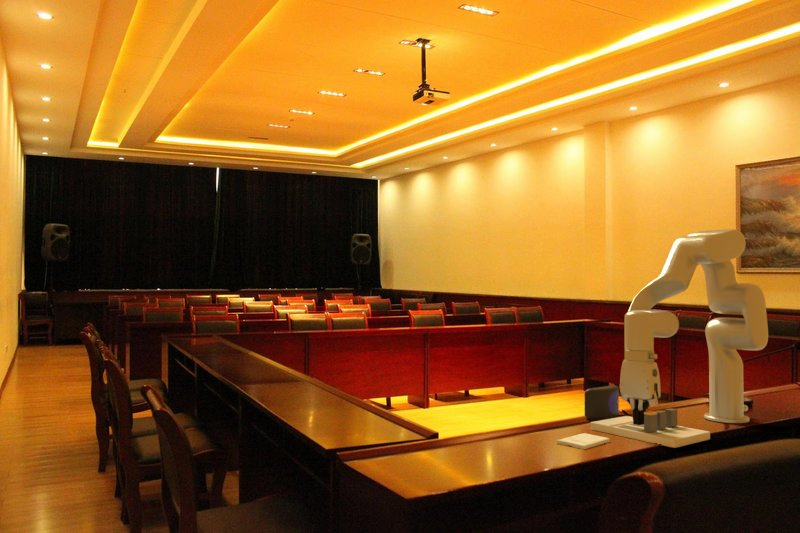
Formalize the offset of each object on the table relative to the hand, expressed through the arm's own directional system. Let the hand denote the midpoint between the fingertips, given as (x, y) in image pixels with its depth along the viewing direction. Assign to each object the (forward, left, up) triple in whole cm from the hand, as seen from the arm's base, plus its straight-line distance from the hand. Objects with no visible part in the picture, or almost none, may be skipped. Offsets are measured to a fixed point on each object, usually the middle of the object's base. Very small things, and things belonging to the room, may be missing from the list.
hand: (639, 424), depth 176 cm
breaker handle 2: (-11, +3, -1) cm, 11 cm away
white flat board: (-5, -1, -4) cm, 7 cm away
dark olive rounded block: (-15, -24, -4) cm, 28 cm away
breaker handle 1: (-5, +3, -1) cm, 6 cm away
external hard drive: (+18, -5, -4) cm, 19 cm away
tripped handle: (0, +3, -1) cm, 4 cm away
